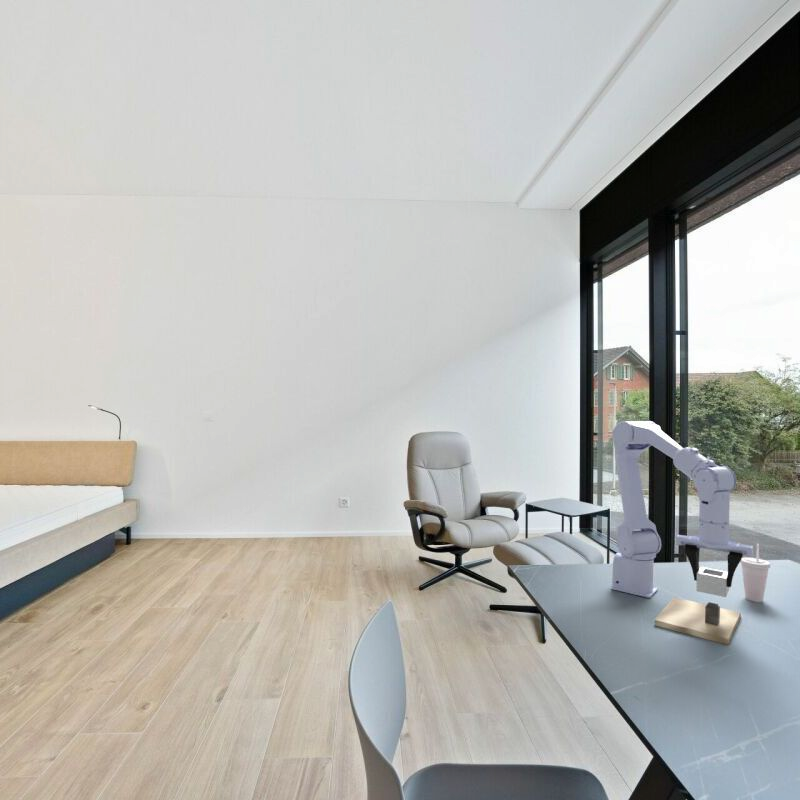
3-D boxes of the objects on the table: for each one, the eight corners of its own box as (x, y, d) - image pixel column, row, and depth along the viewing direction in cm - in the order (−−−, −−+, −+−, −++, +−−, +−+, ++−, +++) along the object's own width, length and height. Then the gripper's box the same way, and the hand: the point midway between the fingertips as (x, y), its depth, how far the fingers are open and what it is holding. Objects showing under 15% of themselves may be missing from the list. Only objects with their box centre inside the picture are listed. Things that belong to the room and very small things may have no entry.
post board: (654, 625, 118) (655, 601, 118) (673, 601, 132) (674, 580, 132) (728, 644, 109) (729, 619, 109) (740, 617, 123) (741, 595, 123)
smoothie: (774, 605, 131) (775, 548, 131) (745, 602, 132) (746, 546, 132) (762, 595, 137) (763, 541, 137) (734, 593, 139) (736, 539, 138)
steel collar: (696, 591, 118) (696, 573, 118) (700, 584, 123) (700, 566, 123) (725, 597, 115) (726, 578, 115) (728, 589, 119) (729, 571, 119)
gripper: (674, 519, 120) (672, 580, 120) (751, 529, 111) (750, 595, 111) (680, 514, 125) (678, 572, 125) (754, 524, 116) (752, 586, 116)
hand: (712, 582), depth 118 cm, fingers closed on steel collar, 6 cm apart
